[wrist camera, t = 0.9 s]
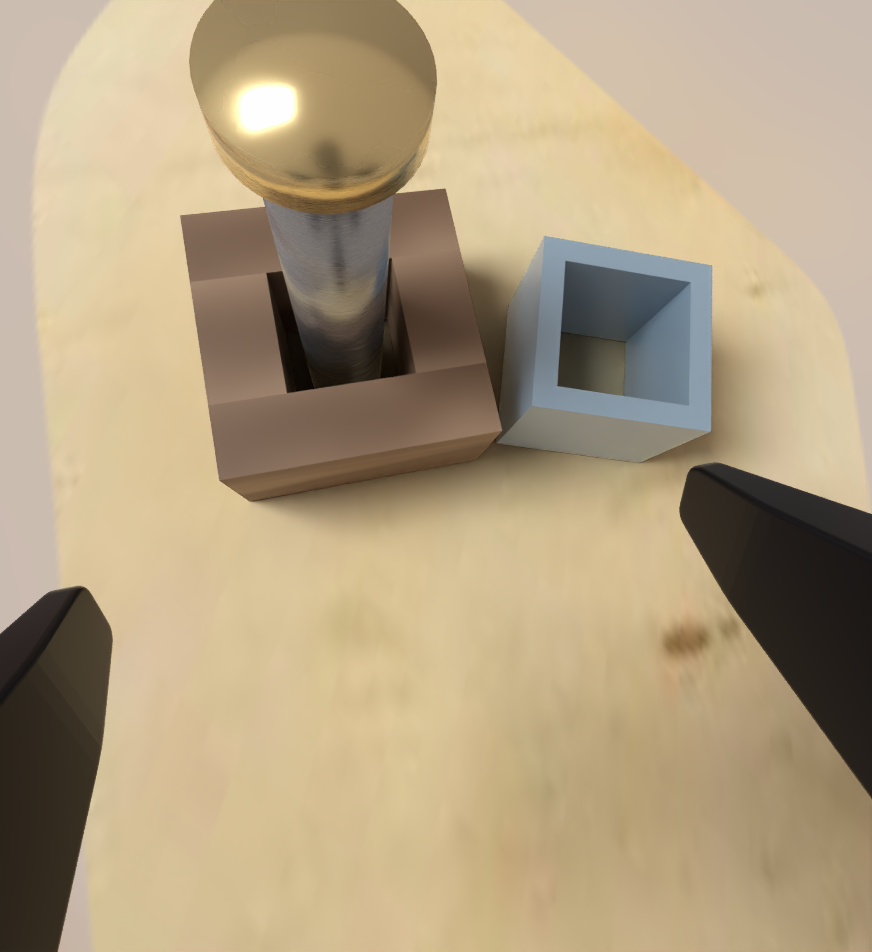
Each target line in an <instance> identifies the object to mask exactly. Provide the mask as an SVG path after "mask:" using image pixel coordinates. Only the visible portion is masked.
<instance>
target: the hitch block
mask: <svg viewBox="0 0 872 952" xmlns="http://www.w3.org/2000/svg"><path fill="white" fill-rule="evenodd" d="M180 217H181V224H182V231H183V238H184V244H185V251H186V258H187V265H188V272H189V278H190V285H191V292H192V299H193V305H194V312H195V319H196V326H197V332H198V339H199V346H200V353H201V359H202V366H203V373H204V380H205V387H206V393H207V400H208V407H209V414H210V420H211V427H212V434H213V441H214V447H215V454H216V461H217V468H218V474H219V481H221V482H222V483H224V484H225V485H227V486H228V487H230V488H231V489H232V490H234V491H235V492H237V493H238V494H240V495H241V496H243V497H244V498H245V499H247V500H248V501H255V500H261V499H266V498H271V497H277V496H282V495H288V494H293V493H299V492H304V491H310V490H315V489H321V488H326V487H332V486H337V485H342V484H348V483H353V482H359V481H364V480H370V479H375V478H381V477H386V476H392V475H397V474H403V473H408V472H413V471H419V470H424V469H430V468H435V467H441V466H446V465H452V464H457V463H463V462H468V461H473V460H476V459H477V458H478V457H479V456H480V455H481V454H482V453H483V452H484V450H485V449H486V448H487V447H488V446H489V445H490V444H491V443H492V442H493V440H494V439H495V438H496V437H497V436H498V435H499V434H500V433H501V432H502V427H501V423H500V418H499V414H498V410H497V406H496V401H495V397H494V393H493V389H492V384H491V380H490V376H489V372H488V367H487V363H486V359H485V355H484V350H483V346H482V342H481V338H480V333H479V329H478V325H477V321H476V316H475V312H474V308H473V304H472V299H471V295H470V291H469V287H468V282H467V278H466V274H465V270H464V265H463V261H462V257H461V253H460V248H459V244H458V240H457V236H456V231H455V227H454V223H453V219H452V214H451V210H450V206H449V202H448V197H447V193H446V189H437V190H427V191H417V192H407V193H397V194H393V205H392V219H391V233H390V247H389V262H388V276H387V290H386V304H385V319H387V322H388V327H389V332H390V336H391V341H392V346H393V351H394V356H395V360H396V365H397V370H398V375H399V376H396V377H389V378H383V379H376V380H370V381H363V382H357V383H350V384H344V385H337V386H331V387H325V388H318V389H312V390H305V391H299V392H296V390H295V385H294V379H293V373H292V367H291V362H290V356H289V350H288V345H287V339H286V333H289V332H296V331H298V327H297V323H296V319H295V316H294V312H293V308H292V304H291V301H290V297H289V293H288V290H287V286H286V282H285V278H284V275H283V271H282V267H281V263H280V260H279V256H278V252H277V249H276V245H275V241H274V237H273V234H272V230H271V226H270V223H269V219H268V215H267V211H266V208H265V207H259V208H250V209H240V210H230V211H220V212H210V213H200V214H191V215H181V216H180Z"/></svg>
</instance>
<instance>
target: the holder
mask: <svg viewBox="0 0 872 952" xmlns="http://www.w3.org/2000/svg"><path fill="white" fill-rule="evenodd" d="M561 332H566V333H573V334H579V335H585V336H591V337H598V338H604V339H610V340H617V341H623V342H626V354H625V380H624V396H620V395H613V394H607V393H600V392H593V391H586V390H580V389H573V388H566V387H560V386H557V383H558V367H559V352H560V337H561ZM711 377H712V266H711V265H706V264H700V263H694V262H689V261H683V260H677V259H672V258H666V257H660V256H655V255H649V254H643V253H638V252H632V251H627V250H621V249H615V248H610V247H604V246H598V245H593V244H587V243H581V242H576V241H570V240H564V239H559V238H553V237H547V236H544V238H543V240H542V242H541V244H540V246H539V248H538V250H537V252H536V254H535V255H534V257H533V259H532V261H531V263H530V265H529V267H528V269H527V271H526V273H525V275H524V277H523V279H522V281H521V283H520V284H519V286H518V288H517V290H516V292H515V294H514V296H513V298H512V300H511V302H510V304H509V306H508V315H507V327H506V339H505V350H504V362H503V373H502V385H501V396H500V408H499V418H500V423H501V427H502V432H501V433H500V434H499V435H498V436H497V443H496V444H504V445H511V446H518V447H526V448H533V449H541V450H548V451H555V452H563V453H570V454H577V455H585V456H592V457H599V458H607V459H614V460H621V461H629V462H636V463H640V462H643V461H645V460H647V459H650V458H652V457H654V456H657V455H659V454H661V453H663V452H666V451H668V450H670V449H673V448H675V447H677V446H680V445H682V444H684V443H686V442H689V441H691V440H693V439H696V438H698V437H700V436H703V435H705V434H707V433H709V432H711Z"/></svg>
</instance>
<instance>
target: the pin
mask: <svg viewBox="0 0 872 952" xmlns="http://www.w3.org/2000/svg"><path fill="white" fill-rule="evenodd" d="M189 64H190V74H191V79H192V83H193V87H194V91H195V93H196V96H197V99H198V102H199V105H200V108H201V111H202V114H203V116H204V119H205V122H206V125H207V128H208V131H209V134H210V136H211V139H212V142H213V144H214V146H215V149H216V151H217V153H218V154H219V156H220V158H221V159H222V161H223V163H224V164H225V165H226V167H227V168H228V169H229V170H230V171H231V173H232V174H233V175H234V176H235V177H236V178H237V179H238V180H239V181H240V182H241V183H242V184H244V185H245V186H246V187H248V188H249V189H250V190H252V191H253V192H254V193H256V194H258V195H259V196H261V197H263V200H264V204H265V208H266V211H267V215H268V219H269V223H270V226H271V230H272V234H273V237H274V241H275V245H276V249H277V252H278V256H279V260H280V263H281V267H282V271H283V275H284V278H285V282H286V286H287V290H288V293H289V297H290V301H291V304H292V308H293V312H294V316H295V319H296V323H297V327H298V331H299V334H300V338H301V342H302V345H303V349H304V353H305V357H306V360H307V364H308V368H309V372H310V375H311V379H312V383H313V385H314V388H315V389H318V388H325V387H331V386H337V385H344V384H350V383H357V382H363V381H370V380H376V379H380V375H381V361H382V347H383V333H384V319H385V304H386V290H387V276H388V262H389V247H390V233H391V219H392V205H393V194H395V193H396V192H397V191H399V190H400V189H401V188H402V187H403V186H405V185H406V183H407V182H408V181H409V180H410V179H411V178H412V177H413V176H414V174H415V172H416V171H417V169H418V168H419V166H420V165H421V163H422V160H423V158H424V156H425V154H426V150H427V147H428V143H429V137H430V130H431V123H432V116H433V109H434V102H435V94H436V86H437V74H436V66H435V60H434V56H433V53H432V50H431V47H430V44H429V42H428V40H427V38H426V36H425V34H424V32H423V31H422V29H421V28H420V26H419V25H418V23H417V22H416V20H415V19H414V18H413V17H412V16H411V15H410V13H409V12H408V11H407V10H406V9H405V8H404V7H403V6H402V5H401V4H400V3H398V2H397V1H396V0H214V2H213V3H212V4H211V5H210V6H209V8H208V9H207V10H206V11H205V13H204V14H203V16H202V18H201V19H200V21H199V23H198V25H197V27H196V30H195V32H194V35H193V39H192V43H191V47H190V59H189Z"/></svg>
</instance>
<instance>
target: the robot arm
mask: <svg viewBox="0 0 872 952" xmlns="http://www.w3.org/2000/svg"><path fill="white" fill-rule="evenodd" d="M679 512H680V517H681V520H682V522H683V524H684V526H685V528H686V530H687V531H688V533H689V535H690V536H691V538H692V540H693V542H694V543H695V545H696V547H697V549H698V550H699V552H700V554H701V555H702V557H703V559H704V561H705V562H706V564H707V566H708V568H709V569H710V571H711V573H712V574H713V576H714V578H715V580H716V581H717V583H718V585H719V586H720V588H721V590H722V591H723V593H724V595H725V596H726V598H727V599H728V601H729V602H730V604H731V605H732V607H733V608H734V610H735V611H736V612H737V614H738V615H739V617H740V618H741V619H742V621H743V622H744V623H745V625H746V626H747V628H748V629H749V630H750V632H751V633H752V634H753V636H754V637H755V639H756V640H757V641H758V643H759V644H760V646H761V647H762V648H763V650H764V651H765V652H766V654H767V655H768V657H769V658H770V659H771V661H772V662H773V663H774V665H775V666H776V668H777V669H778V670H779V672H780V673H781V674H782V676H783V677H784V679H785V680H786V681H787V683H788V684H789V685H790V687H791V688H792V690H793V691H794V692H795V694H796V695H797V697H798V698H799V699H800V701H801V702H802V703H803V705H804V706H805V708H806V709H807V710H808V712H809V713H810V714H811V716H812V717H813V719H814V720H815V721H816V723H817V724H818V725H819V727H820V728H821V730H822V731H823V732H824V734H825V735H826V736H827V738H828V739H829V741H830V742H831V743H832V745H833V746H834V748H835V749H836V750H837V752H838V753H839V754H840V756H841V757H842V759H843V760H844V761H845V763H846V764H847V765H848V767H849V768H850V770H851V771H852V772H853V774H854V775H855V776H856V778H857V779H858V781H859V782H860V783H861V785H862V786H863V787H864V789H865V790H866V792H867V793H868V794H869V796H870V797H871V799H872V514H870V513H867V512H864V511H861V510H858V509H855V508H852V507H849V506H846V505H843V504H840V503H837V502H834V501H831V500H828V499H826V498H823V497H820V496H817V495H814V494H811V493H808V492H805V491H802V490H799V489H796V488H793V487H790V486H787V485H784V484H781V483H778V482H775V481H772V480H769V479H766V478H763V477H760V476H757V475H754V474H751V473H748V472H745V471H742V470H739V469H737V468H734V467H731V466H728V465H725V464H722V463H716V462H714V463H708V464H703V465H698V466H694V467H693V468H691V469H690V471H689V472H688V474H687V478H686V482H685V486H684V490H683V494H682V498H681V502H680V507H679ZM112 643H113V638H112V631H111V628H110V625H109V623H108V621H107V620H106V618H105V616H104V615H103V613H102V611H101V609H100V608H99V606H98V604H97V603H96V601H95V599H94V598H93V596H92V594H91V593H90V591H89V590H88V589H87V588H85V587H83V586H74V587H69V588H64V589H59V590H54V591H51V592H49V593H47V594H46V595H44V596H43V597H42V598H41V599H40V600H39V601H37V602H36V603H35V604H34V605H33V606H32V607H30V608H29V609H28V610H27V611H26V612H25V613H23V614H22V615H21V616H20V617H19V618H18V619H17V620H15V622H13V623H12V624H11V625H10V626H9V627H7V628H6V629H5V630H4V631H3V632H2V633H1V634H0V952H58V948H59V944H60V939H61V935H62V930H63V925H64V921H65V916H66V912H67V907H68V903H69V898H70V893H71V889H72V884H73V880H74V875H75V871H76V866H77V862H78V857H79V852H80V848H81V843H82V839H83V834H84V830H85V825H86V820H87V816H88V811H89V807H90V802H91V798H92V793H93V788H94V784H95V779H96V775H97V770H98V765H99V760H100V755H101V750H102V743H103V735H104V726H105V716H106V705H107V695H108V685H109V674H110V664H111V654H112Z"/></svg>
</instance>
